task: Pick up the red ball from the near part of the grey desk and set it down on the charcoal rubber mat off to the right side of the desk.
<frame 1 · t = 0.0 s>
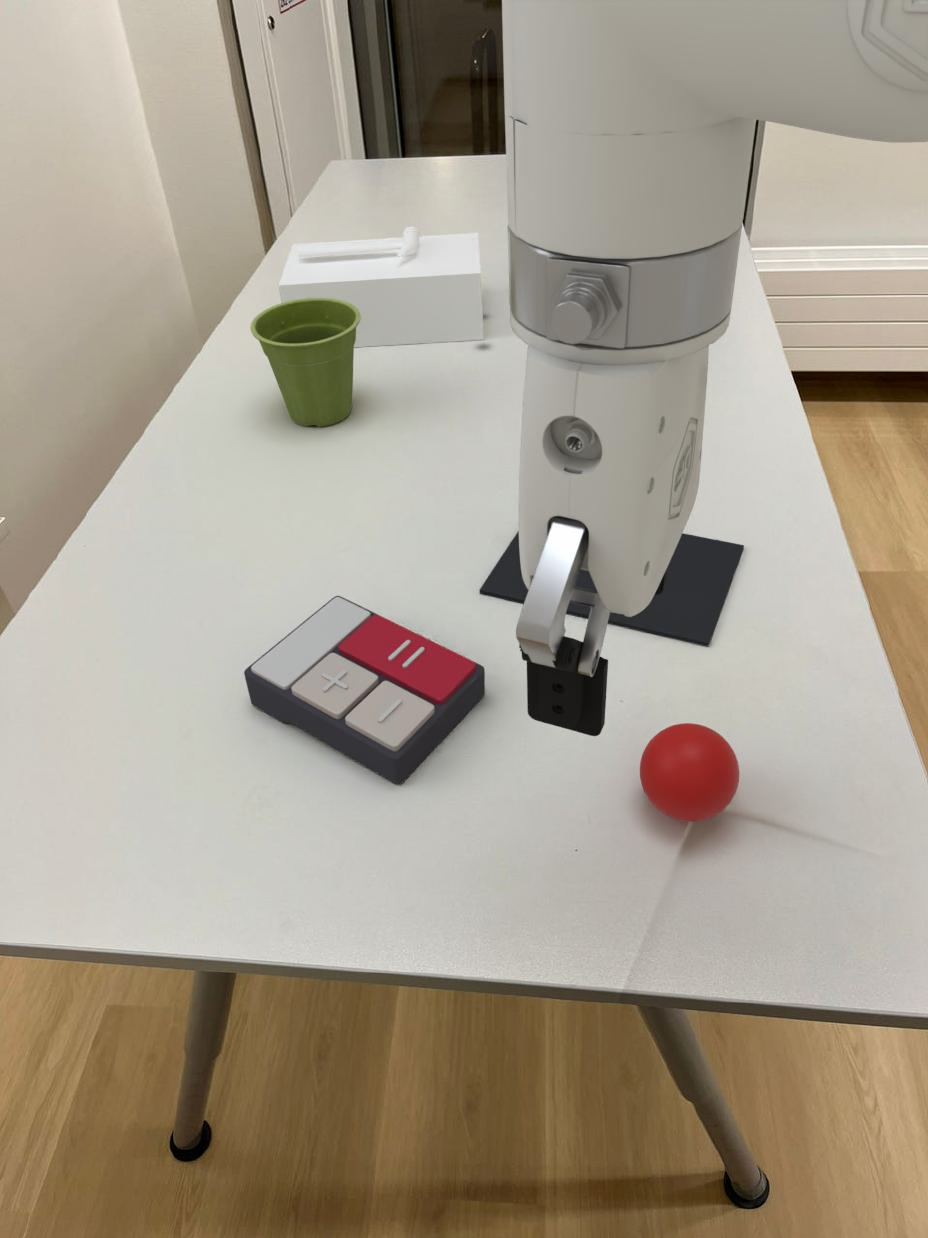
hand: (601, 649, 43), 23 cm above the table, tool pointing down, fingers open, 9 cm apart
tissue box: (389, 323, 128), on the table
plant pot: (321, 414, 110), on the table
side mat: (613, 570, 85), on the table
calculator: (368, 701, 74), on the table
tan rough lump: (563, 267, 140), on the table
red ball: (688, 772, 63), point 3 cm above the table
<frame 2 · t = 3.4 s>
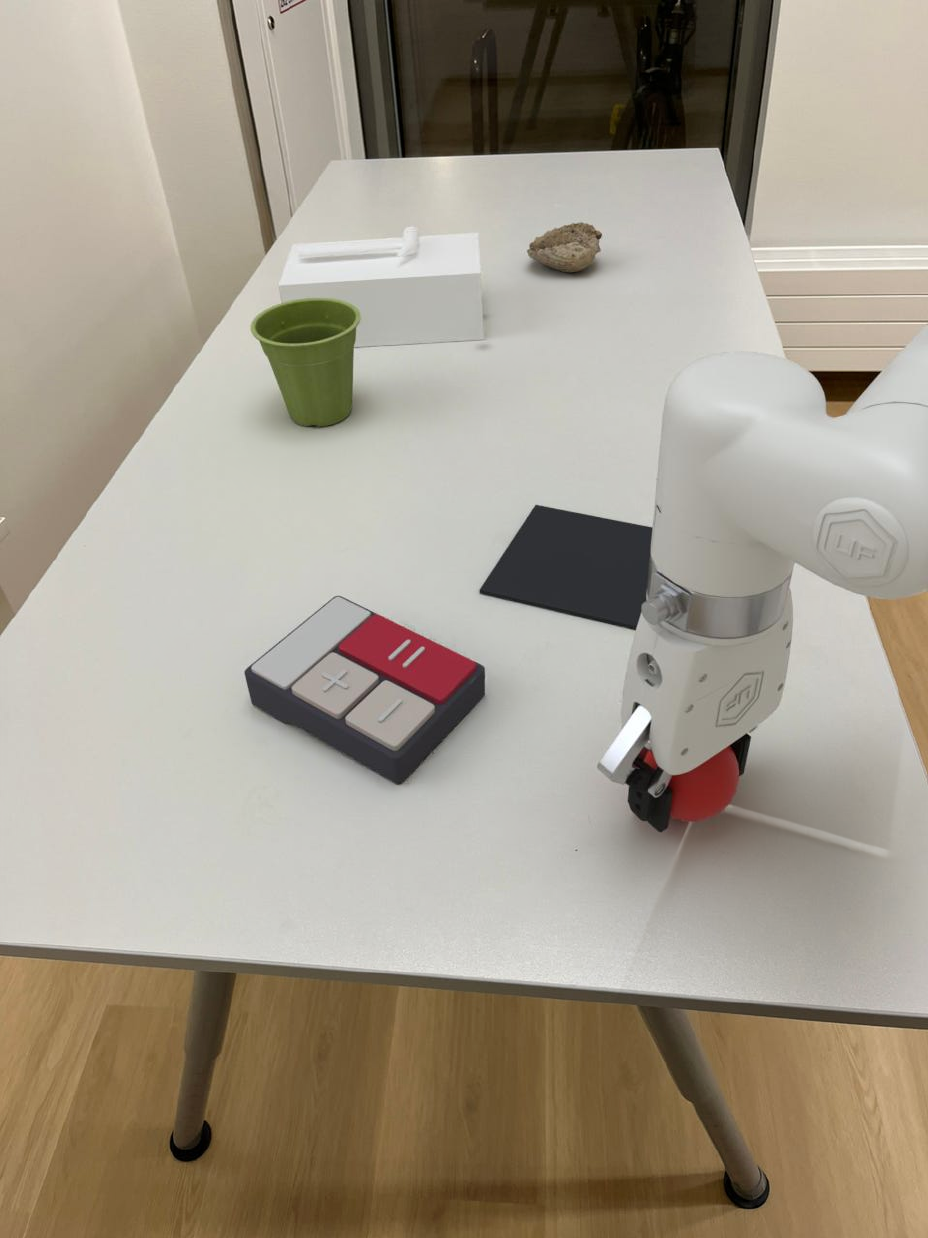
hand: (685, 788, 64), 1 cm above the table, tool pointing down, fingers closed on red ball, 6 cm apart
red ball: (688, 772, 63), point 3 cm above the table, touching gripper
everything else where it was.
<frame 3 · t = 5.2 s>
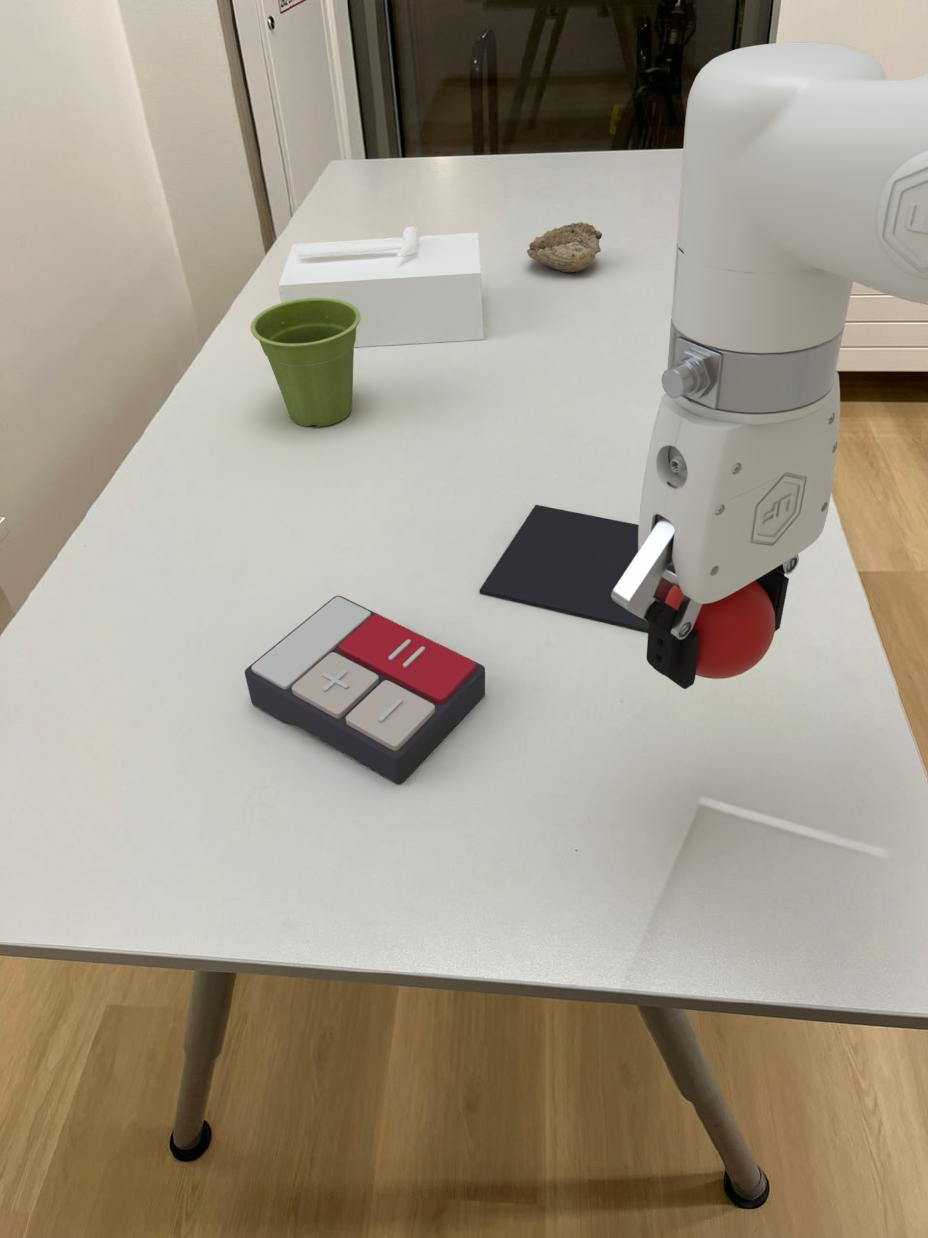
hand: (713, 644, 55), 15 cm above the table, tool pointing down, fingers closed on red ball, 6 cm apart
red ball: (716, 622, 54), point 16 cm above the table, touching gripper
everything else where it was.
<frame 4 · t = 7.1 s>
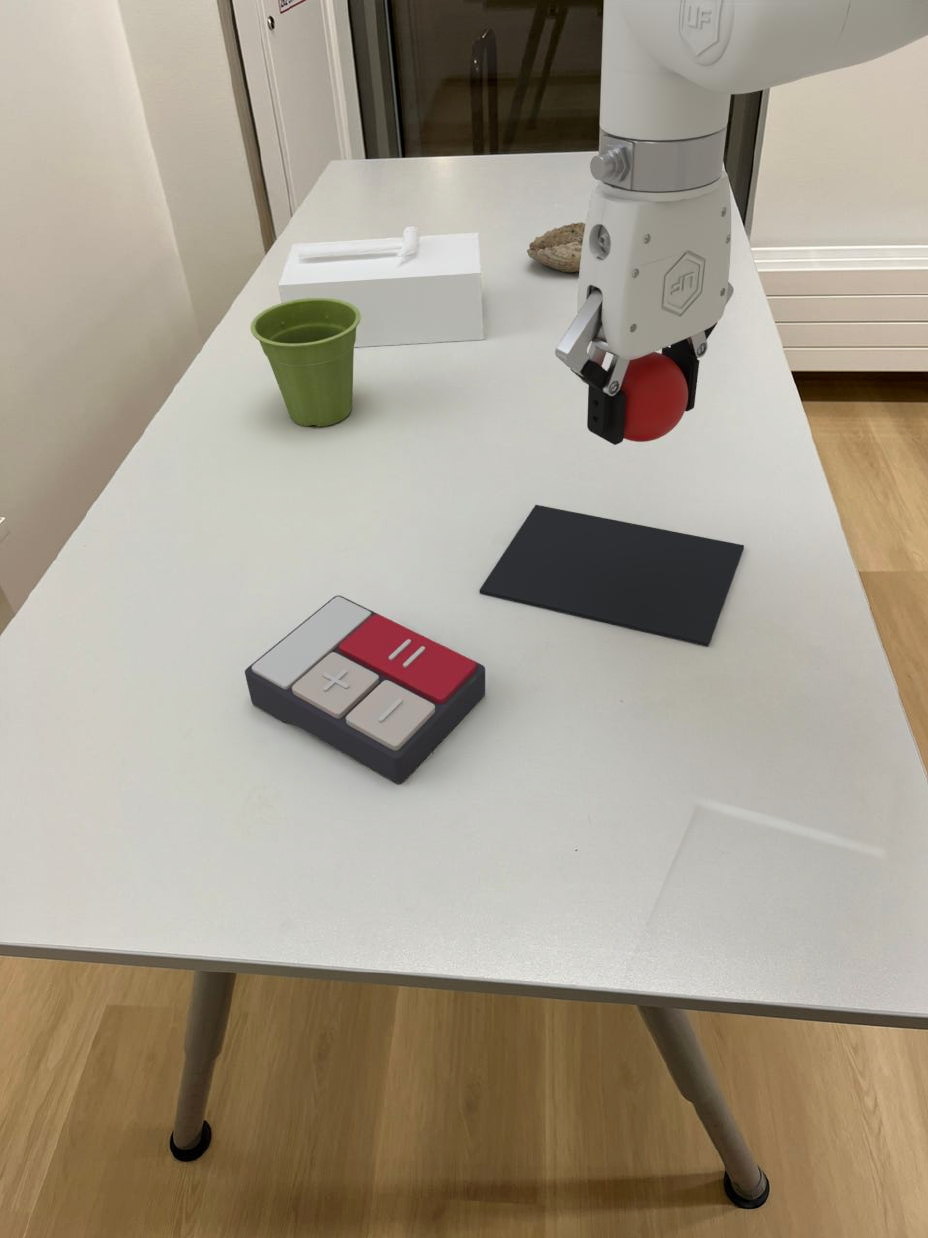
hand: (641, 417, 70), 18 cm above the table, tool pointing down, fingers closed on red ball, 6 cm apart
red ball: (642, 396, 69), point 19 cm above the table, touching gripper
everything else where it was.
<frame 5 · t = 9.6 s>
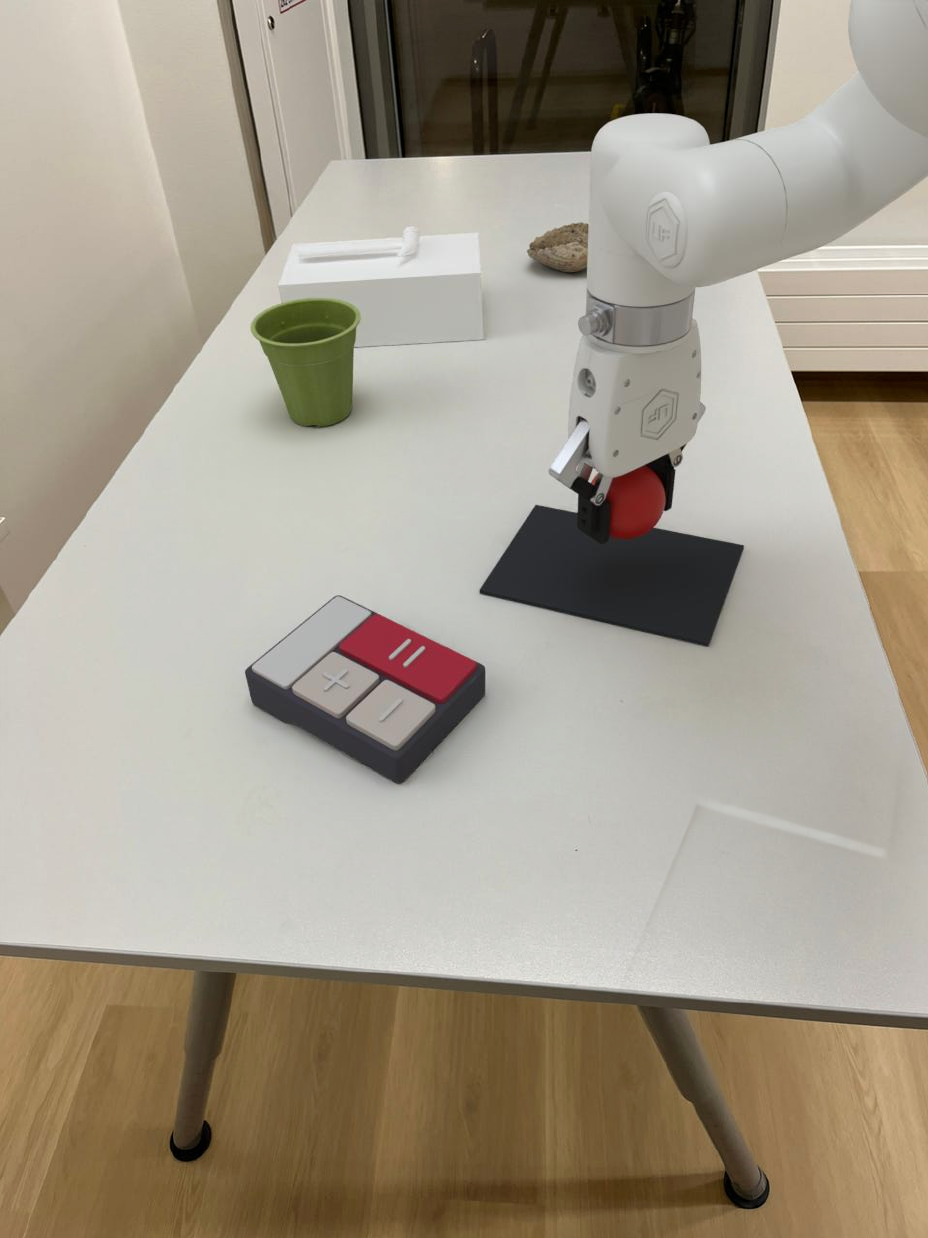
hand: (624, 517, 79), 7 cm above the table, tool pointing down, fingers closed on red ball, 6 cm apart
red ball: (625, 500, 78), point 8 cm above the table, touching gripper
everything else where it was.
when the fingers open (2 cm above the table, at t = 11.3 s): red ball stays where it is, resting on side mat.
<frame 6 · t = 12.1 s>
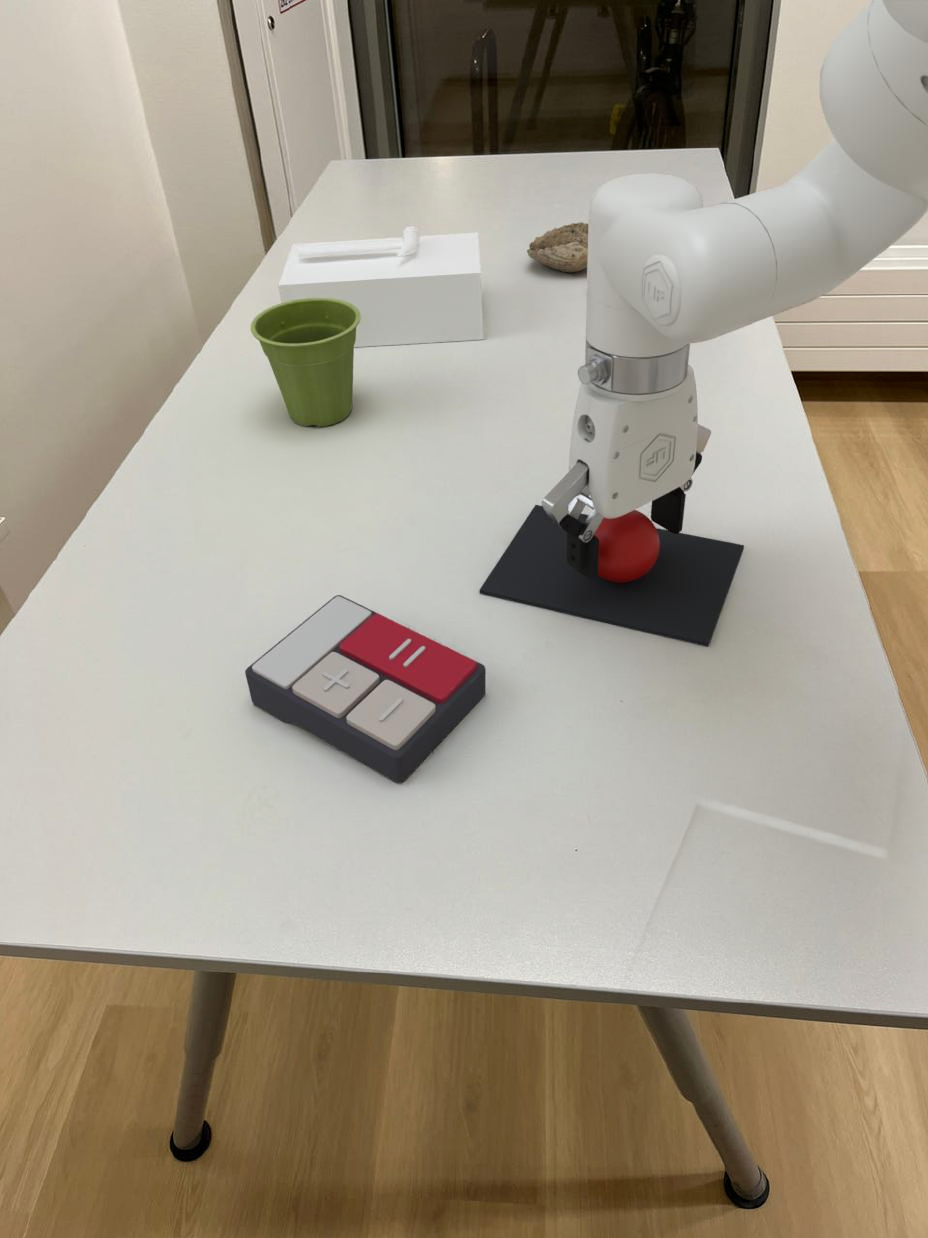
hand: (625, 547, 81), 4 cm above the table, tool pointing down, fingers open, 9 cm apart
red ball: (621, 545, 81), point 4 cm above the table, touching side mat
everything else where it was.
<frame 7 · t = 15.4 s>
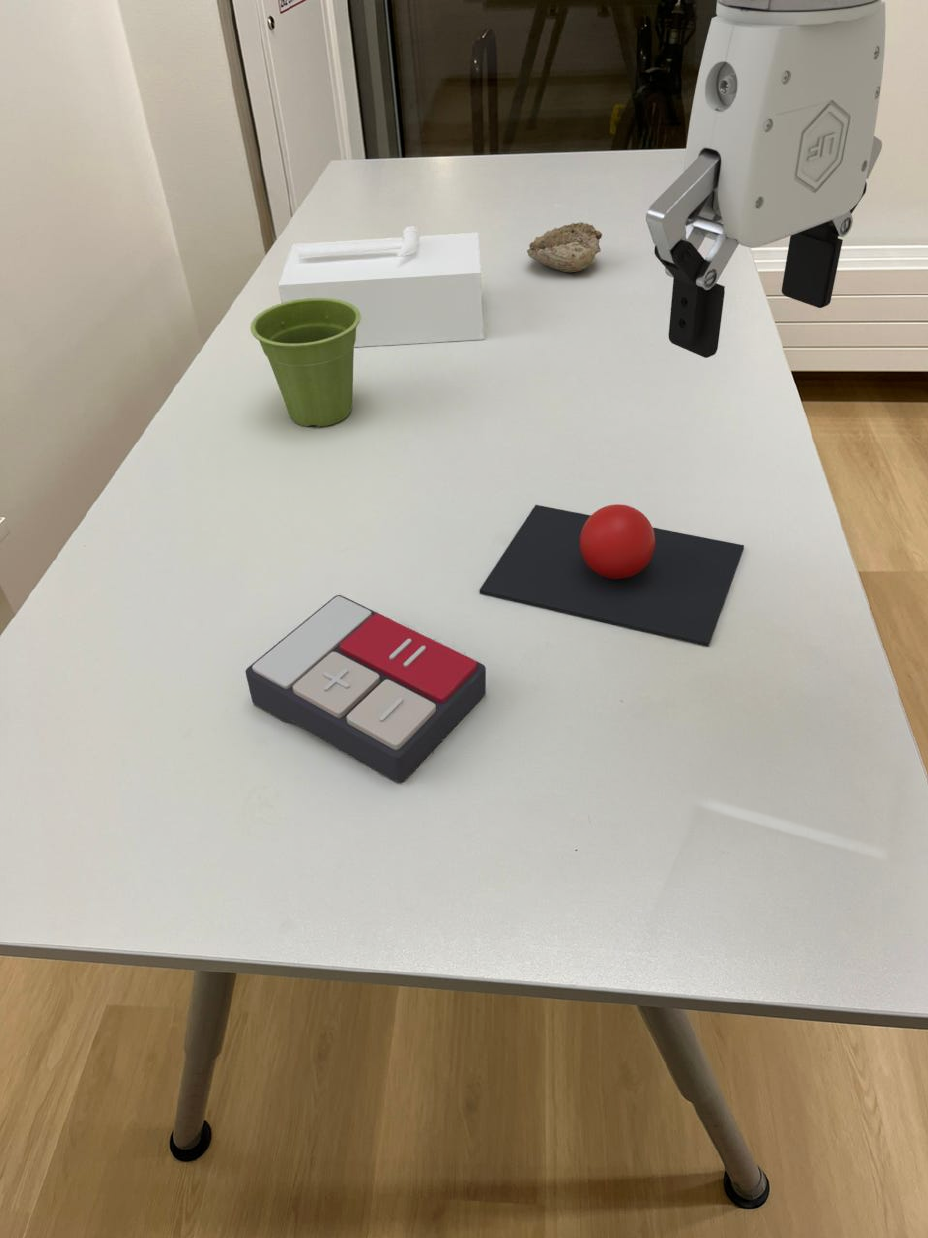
hand: (750, 323, 56), 28 cm above the table, tool pointing down, fingers open, 9 cm apart
red ball: (617, 541, 82), point 4 cm above the table, tilted 14°, touching side mat
everything else where it was.
at the end: red ball inside the target area on the side mat (0.6 cm from its centre), point 3.6 cm above the side mat's base; red ball moved 25.4 cm from its start; the gripper is holding nothing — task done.
